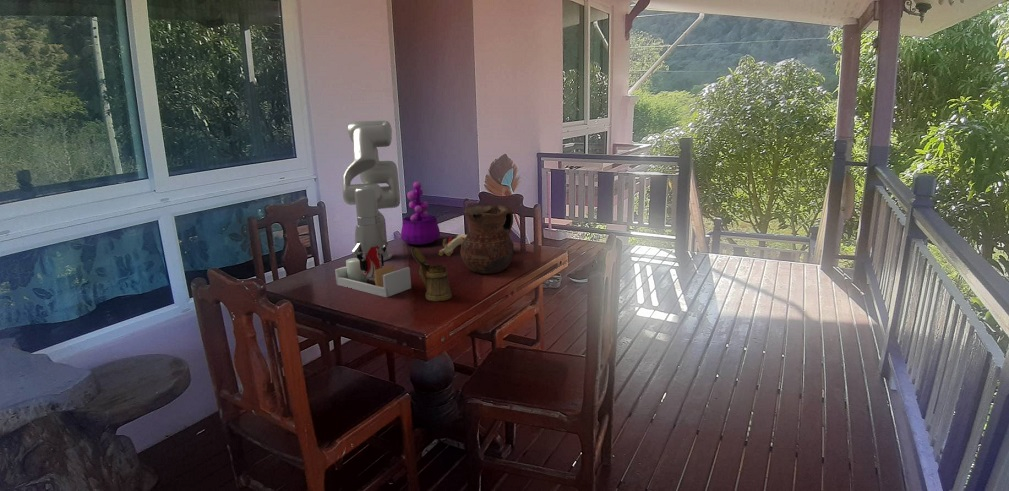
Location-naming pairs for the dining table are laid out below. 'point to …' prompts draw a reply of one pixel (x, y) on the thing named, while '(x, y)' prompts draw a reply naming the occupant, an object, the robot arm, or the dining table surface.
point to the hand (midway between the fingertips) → (372, 267)
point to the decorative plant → (419, 221)
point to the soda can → (373, 261)
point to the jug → (488, 239)
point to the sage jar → (355, 270)
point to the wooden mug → (433, 278)
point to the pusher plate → (381, 272)
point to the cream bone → (451, 244)
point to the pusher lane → (391, 283)
